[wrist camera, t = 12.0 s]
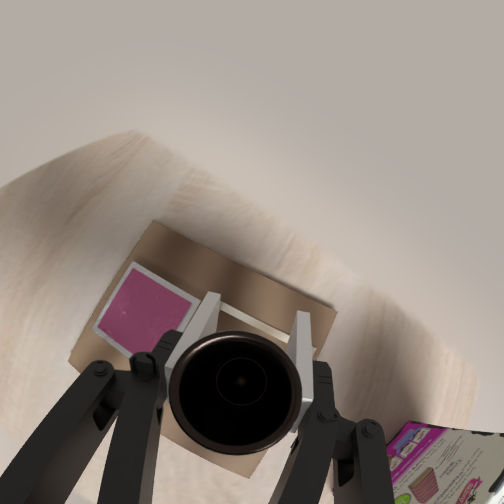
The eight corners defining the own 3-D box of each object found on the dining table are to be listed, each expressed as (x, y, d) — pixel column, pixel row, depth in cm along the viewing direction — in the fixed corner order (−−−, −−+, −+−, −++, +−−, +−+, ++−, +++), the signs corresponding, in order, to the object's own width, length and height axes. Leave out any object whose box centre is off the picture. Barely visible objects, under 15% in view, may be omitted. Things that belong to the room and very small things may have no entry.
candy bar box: (356, 513, 16) (433, 588, 1) (330, 493, 18) (404, 580, 3) (430, 441, 19) (542, 459, 4) (409, 417, 21) (532, 430, 6)
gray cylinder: (245, 336, 19) (243, 302, 9) (288, 384, 17) (330, 399, 8) (195, 375, 18) (141, 380, 8) (237, 424, 16) (226, 478, 7)
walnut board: (72, 362, 23) (66, 361, 22) (155, 225, 29) (152, 219, 28) (248, 475, 19) (248, 479, 18) (334, 314, 26) (338, 311, 25)
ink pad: (97, 330, 23) (90, 328, 22) (137, 265, 26) (131, 259, 25) (160, 377, 22) (155, 377, 21) (203, 303, 25) (200, 299, 24)
